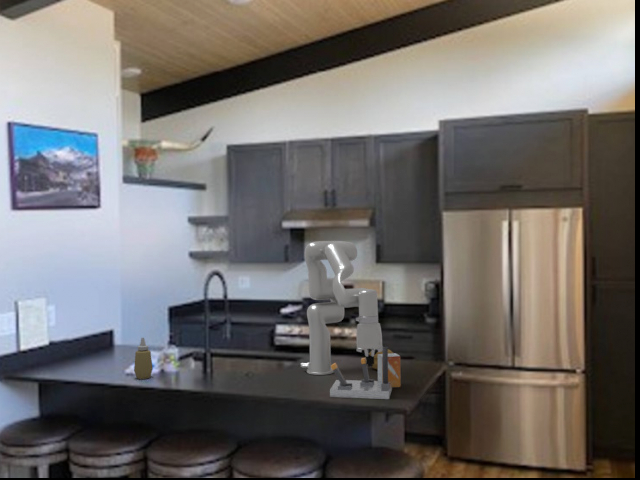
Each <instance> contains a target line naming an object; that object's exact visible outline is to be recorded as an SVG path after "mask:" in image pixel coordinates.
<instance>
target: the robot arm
mask: <svg viewBox="0 0 640 480" xmlns="http://www.w3.org/2000/svg"><path fill="white" fill-rule="evenodd" d="M357 256H358V249H357V247H356V245H355V244H354V243H353V242H351V241H344V240H321V241H319V240H318V241H311V242H309V243H308V244H307V245H306V247H305V248H304V261H305V263H306V268H307V272H308V279H307V280H308V292H309V297H310V298H311V299H312V300H315V301H323V300H330V302H315V303H312V304H310V305H309V306H308V307H307V309H306V316H307V317H306V318H307V322H308V330H309V331H308V332H309V361H308V362H301V363H300V368H303V369H304V368H305V369H306V368H307V369H306V373H307V374H309V375H313V376H324V375H325V376H326V375H331V374H335V373H334V371H333V370H332V368H331V365H332V361H331V359H332V358H331V356H332V355H331V354H332V353H331V351H332V350H331V348H332V347H331V332H330V330H329V328H328V327H327V325H326V324H334V323H339V322H342V320H344V317H345V308H346V309H347V308H358V317H355V322H358V324H357V325H356V352H358V353H361V354H363V355H364V356H365V358H366V364H367V368H368V367H371V368H372V366H373V364H374V355H375V354H376V353H377V352H381V351H383V347H384V346H383V335H382V327H381V323H379V309H378V308H379V307H378V303H379V302H378V292H377V290H375V289H370V288H369V289H368V288H365V287H358V288H355V287H354V288H345V286H344V285H343V281H345V280H347V279H348V278H350V277H351V276H352V274H354V272H355V268H354V265H353V263H352V262H353V261H355V260H356V259H357V258H358V257H357ZM323 261H328V263H329V265H330V267H331V269H332V271H333V273H334V277H333V278H328V274H327V273H328V272H327V271H328V270H327V267H326V266H325V265H326V264H324V263H323ZM375 349H376V350H375ZM369 350H371V351H372V352H371V351H370V352H371V356H370V354H369V353H370V352H369Z"/></svg>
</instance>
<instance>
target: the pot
mask: <svg viewBox="0 0 640 480" xmlns="http://www.w3.org/2000/svg"><path fill="white" fill-rule="evenodd" d="M375 350H376V349H375ZM371 352H372V350H370V352H369V354H370V356H371ZM392 353H394V352H393V351H392V350H391V349H389V348H388V354H392ZM378 354H383V351H381V352H377V353H376V354H375V355H374V364H373V366H372V367H371V368H373V370H377V371H378Z"/></svg>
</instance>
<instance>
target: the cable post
mask: <svg viewBox="0 0 640 480" xmlns="http://www.w3.org/2000/svg"><path fill="white" fill-rule="evenodd" d="M382 347H383V382H382V384H381V390H389V389H390V382H388V349H389V347H388V346H382Z"/></svg>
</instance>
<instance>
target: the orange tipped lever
mask: <svg viewBox="0 0 640 480" xmlns="http://www.w3.org/2000/svg"><path fill="white" fill-rule="evenodd" d="M331 368H332V370H333V371H334V373H333V374H334V375H335V376H336V378H337V380H339V381H340V383H341V385H342V386H344V385H346V384H347V382H346V380H347V379H345V377H344V375H343V373H342V372H341V370H340V368H339V366H338V364H337V362H334V363H331Z"/></svg>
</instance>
